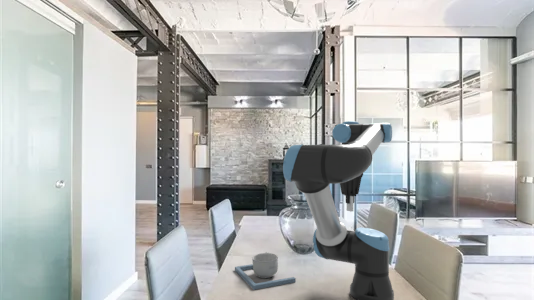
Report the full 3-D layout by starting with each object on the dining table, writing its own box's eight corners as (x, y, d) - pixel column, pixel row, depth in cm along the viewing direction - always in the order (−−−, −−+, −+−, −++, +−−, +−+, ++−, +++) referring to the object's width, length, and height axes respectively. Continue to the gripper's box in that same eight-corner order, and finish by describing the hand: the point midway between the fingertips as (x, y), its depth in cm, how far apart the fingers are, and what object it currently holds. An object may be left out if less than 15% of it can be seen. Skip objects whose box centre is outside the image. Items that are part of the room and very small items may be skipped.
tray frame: (295, 282, 126) (295, 278, 126) (253, 289, 119) (253, 285, 119) (272, 264, 146) (272, 261, 146) (234, 270, 138) (234, 266, 138)
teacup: (273, 282, 126) (273, 261, 126) (248, 278, 130) (248, 258, 130) (282, 270, 139) (282, 251, 140) (259, 267, 143) (259, 249, 143)
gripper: (356, 156, 145) (355, 208, 145) (333, 156, 140) (332, 210, 140) (367, 157, 138) (367, 211, 138) (343, 157, 133) (343, 213, 133)
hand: (349, 210), depth 139 cm, fingers closed
